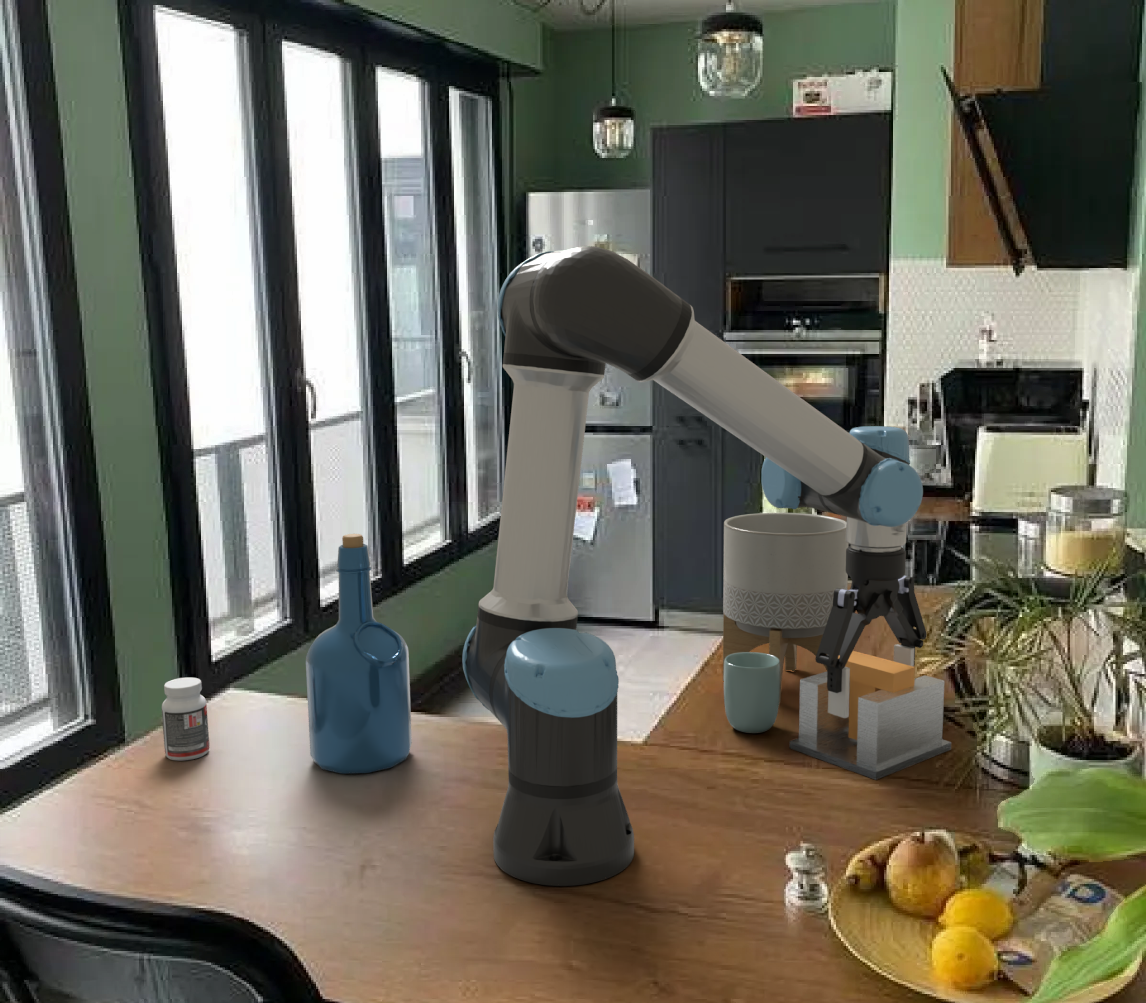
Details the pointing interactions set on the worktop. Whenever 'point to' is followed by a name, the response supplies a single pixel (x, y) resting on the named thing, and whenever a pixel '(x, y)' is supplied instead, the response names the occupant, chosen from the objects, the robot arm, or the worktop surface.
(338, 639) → the wine bottle
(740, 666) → the cup
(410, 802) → the worktop surface
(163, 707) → the pill bottle
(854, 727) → the orange t-shaped block
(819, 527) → the planter
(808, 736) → the bracket
